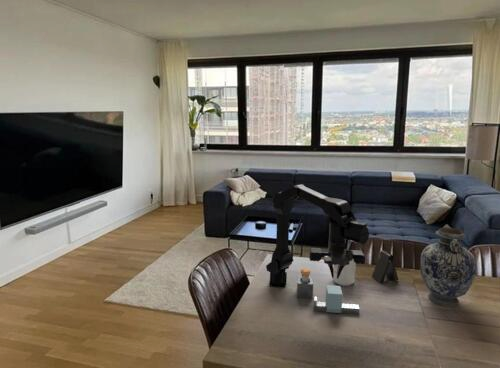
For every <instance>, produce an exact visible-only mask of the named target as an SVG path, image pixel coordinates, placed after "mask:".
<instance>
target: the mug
mask: <svg viewBox="0 0 500 368" xmlns="http://www.w3.org/2000/svg"><path fill="white" fill-rule="evenodd" d="M349 263H350V264H349V265H346V266H344V268H343V269H342V271H341V274H340V276H339V278H338V279H337V268H338V265H333V272H334V277H333V278H332V280H333V281H334V282H335V284H337V285H338V286H344V287H345V286H346V287H347V286H351V285H352V284H354V282H355V277H356V265H357V263H355V262H354V261H353V259H352V261H350V262H349Z"/></svg>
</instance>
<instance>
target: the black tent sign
mask: <svg viewBox="0 0 500 368" xmlns="http://www.w3.org/2000/svg"><path fill="white" fill-rule="evenodd" d="M378 257H379V258H378V260H377V263H376V265H375V267H374V270H373V272H372V275H371V277H372V278H373V279H375V280H376V281H377V282H378V283H380V284H383V282H384V283H390V282H389V281H392V282H397V281H396V280H398V281H399V277H398V273H397V268H396V266H395V265H396V264H395V256H394V255H393V254H392V253H390V252H388V251H386V250H381V251H379V256H378Z"/></svg>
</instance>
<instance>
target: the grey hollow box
mask: <svg viewBox="0 0 500 368" xmlns="http://www.w3.org/2000/svg"><path fill="white" fill-rule="evenodd" d="M301 280H302V275H300V276H299V275H298V276H297V279H296V299H297V298H300V299H312V300H314V296H313V295H314V281H313V276H309V283H308V282H301Z"/></svg>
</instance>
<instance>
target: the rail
mask: <svg viewBox="0 0 500 368" xmlns="http://www.w3.org/2000/svg"><path fill="white" fill-rule="evenodd" d="M312 304H313V307H312V308H313V312H314V311H315V312H325V313H328V312H327V305H326V301H318V297H317V296H313V303H312ZM340 314H353V315H354V314H355V315H359V314H360V306H359V304H355V303H343V302H342V310H341V313H340Z"/></svg>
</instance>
